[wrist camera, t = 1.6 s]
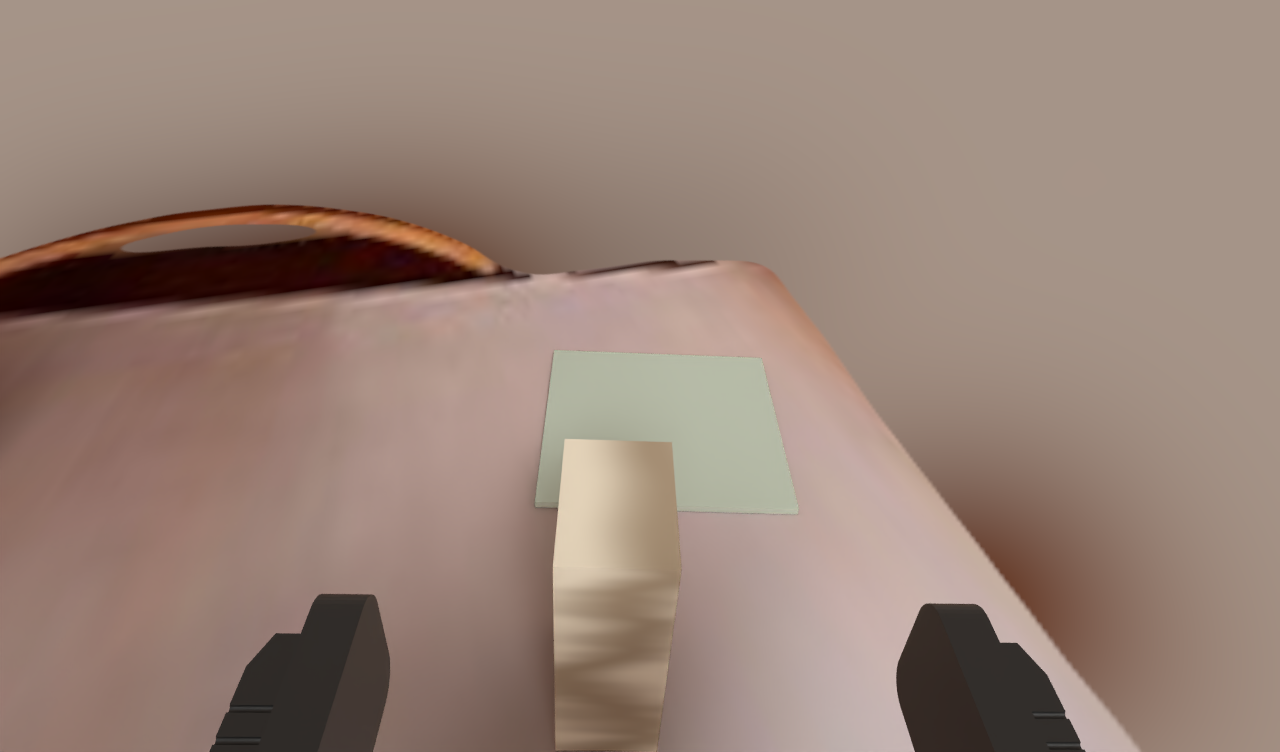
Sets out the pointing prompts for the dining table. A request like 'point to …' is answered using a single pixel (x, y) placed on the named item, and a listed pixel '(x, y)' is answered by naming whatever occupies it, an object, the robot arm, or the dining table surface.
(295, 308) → the dining table surface
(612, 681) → the block
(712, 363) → the mat
